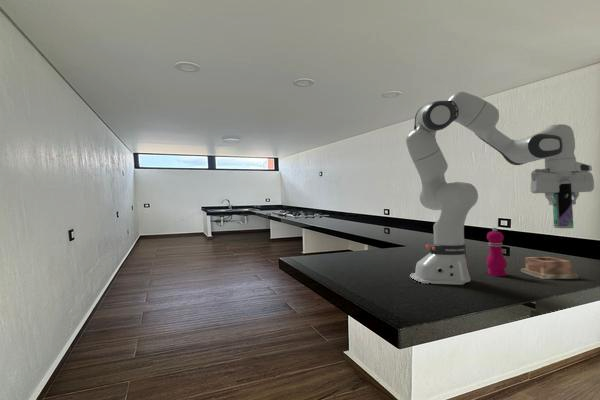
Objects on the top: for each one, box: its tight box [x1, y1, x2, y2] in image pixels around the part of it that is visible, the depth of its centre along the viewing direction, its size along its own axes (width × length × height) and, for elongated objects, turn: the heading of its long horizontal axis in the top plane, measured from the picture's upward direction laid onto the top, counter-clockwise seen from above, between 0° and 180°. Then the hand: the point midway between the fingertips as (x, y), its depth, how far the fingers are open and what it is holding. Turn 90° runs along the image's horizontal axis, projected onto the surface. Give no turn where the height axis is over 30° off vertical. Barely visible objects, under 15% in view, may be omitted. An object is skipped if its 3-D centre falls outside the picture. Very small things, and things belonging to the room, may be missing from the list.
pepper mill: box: [486, 226, 508, 277], centre depth 125 cm, size 7×7×20 cm
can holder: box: [520, 256, 580, 280], centre depth 121 cm, size 13×13×6 cm
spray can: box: [552, 179, 574, 229], centre depth 110 cm, size 6×6×20 cm
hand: (562, 204), depth 110 cm, fingers closed on spray can, 5 cm apart
